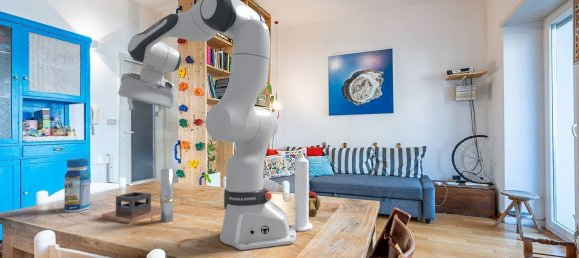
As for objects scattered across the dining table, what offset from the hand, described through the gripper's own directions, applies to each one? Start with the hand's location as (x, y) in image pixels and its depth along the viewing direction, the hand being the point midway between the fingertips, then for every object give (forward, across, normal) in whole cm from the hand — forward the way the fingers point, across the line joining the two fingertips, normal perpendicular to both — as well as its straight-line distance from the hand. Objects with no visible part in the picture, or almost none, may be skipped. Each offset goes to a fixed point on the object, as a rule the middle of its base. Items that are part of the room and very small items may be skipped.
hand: (144, 113), depth 107 cm
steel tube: (+38, +9, -18) cm, 43 cm away
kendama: (+30, +54, -46) cm, 77 cm away
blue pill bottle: (+41, -10, +21) cm, 47 cm away
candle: (+34, +36, -57) cm, 75 cm away
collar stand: (+39, +3, -3) cm, 39 cm away
